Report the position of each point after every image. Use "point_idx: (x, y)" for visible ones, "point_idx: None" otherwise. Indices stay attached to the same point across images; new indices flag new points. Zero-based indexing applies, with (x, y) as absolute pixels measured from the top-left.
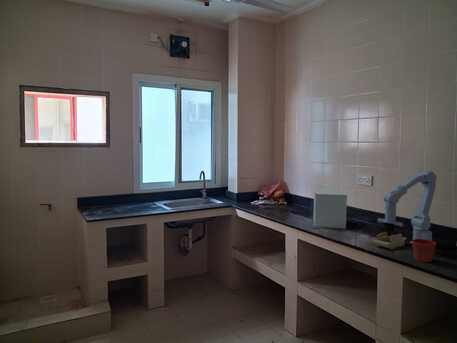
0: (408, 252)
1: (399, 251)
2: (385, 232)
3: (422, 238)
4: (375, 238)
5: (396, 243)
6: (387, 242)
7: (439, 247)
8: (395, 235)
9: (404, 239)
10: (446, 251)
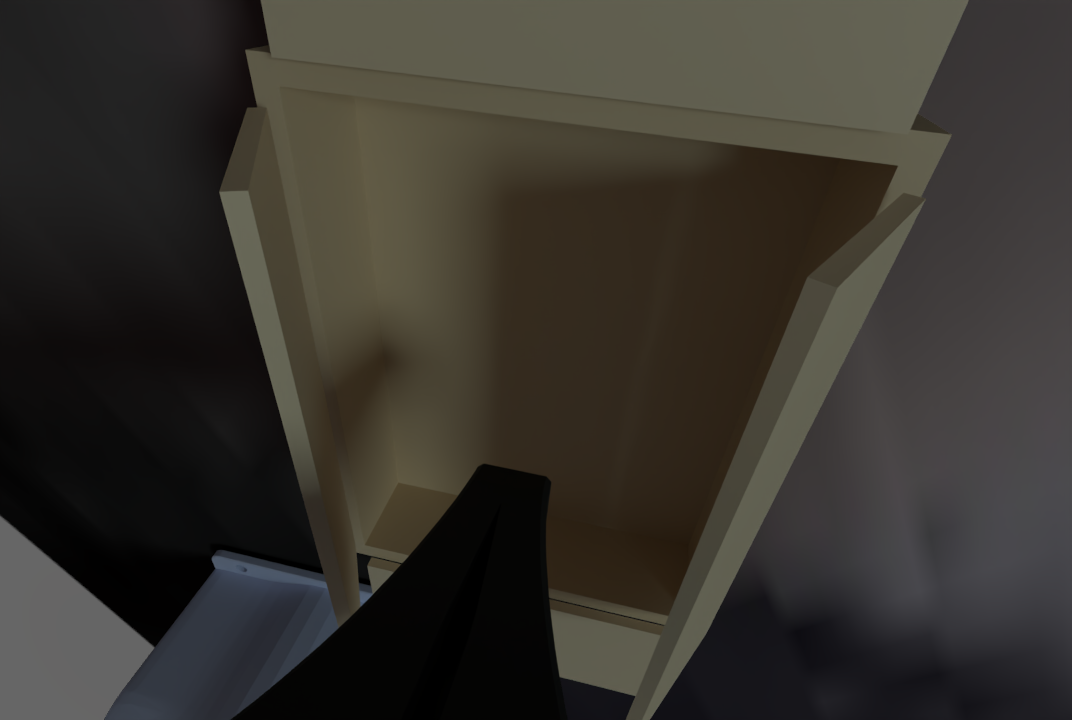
0: (46, 108)
1: (145, 11)
2: (663, 633)
3: (211, 662)
4: (913, 200)
5: (310, 296)
6: (386, 68)
7: (161, 586)
8: (310, 511)
9: (376, 580)
10: (27, 507)
